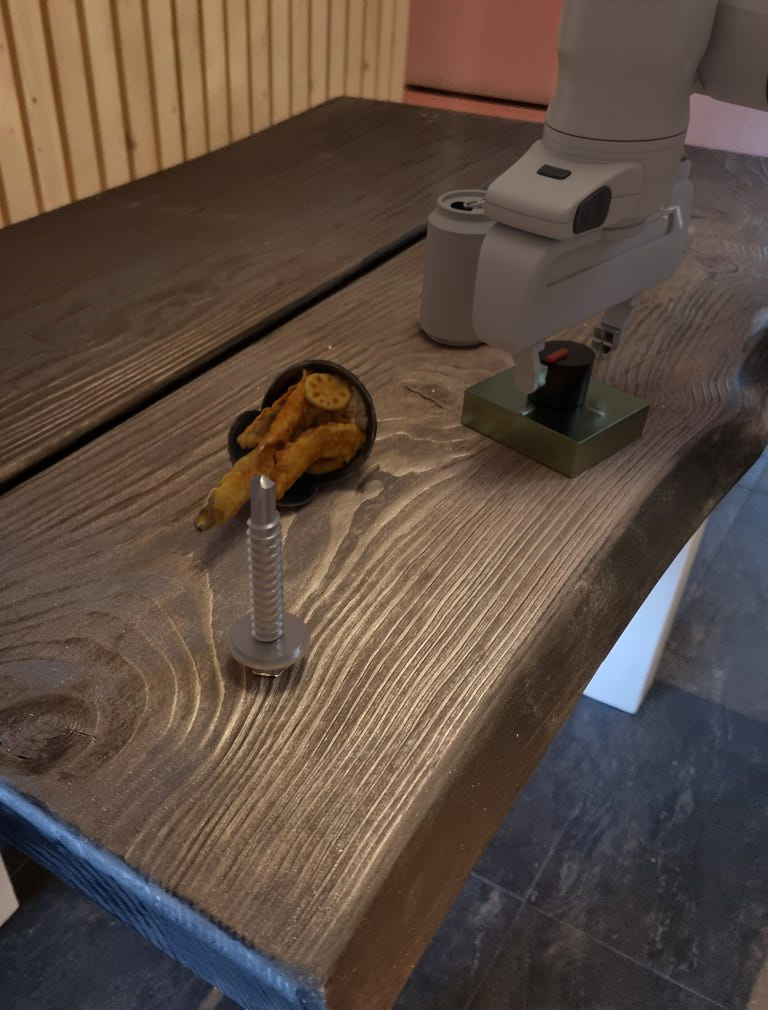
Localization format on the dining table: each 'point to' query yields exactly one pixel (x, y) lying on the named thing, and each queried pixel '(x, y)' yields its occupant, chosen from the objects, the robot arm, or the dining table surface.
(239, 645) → the screw
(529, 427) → the timer panel
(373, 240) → the dining table surface
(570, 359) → the timer knob
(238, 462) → the fried shrimp in bowl
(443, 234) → the can
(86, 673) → the dining table surface
